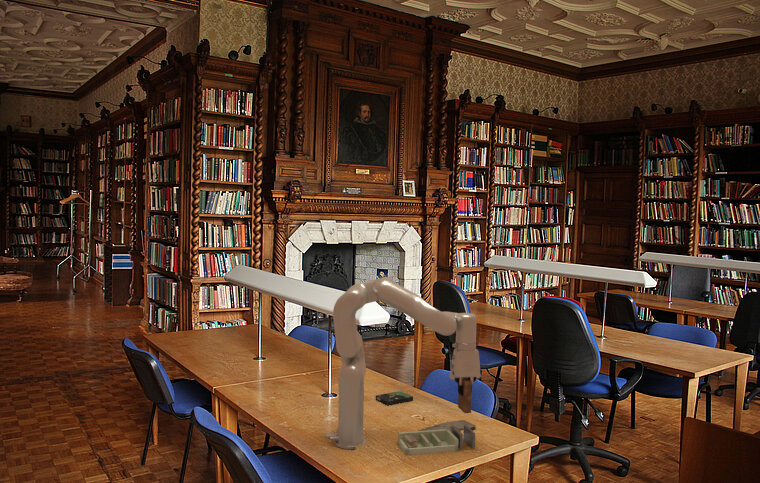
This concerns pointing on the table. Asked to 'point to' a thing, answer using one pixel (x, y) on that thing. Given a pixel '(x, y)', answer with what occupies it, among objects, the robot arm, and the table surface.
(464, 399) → the walnut board
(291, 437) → the table surface
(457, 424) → the stone slab
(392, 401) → the disk drive
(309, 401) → the table surface
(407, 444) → the offcut lower
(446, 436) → the tray
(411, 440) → the offcut upper
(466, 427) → the stand
